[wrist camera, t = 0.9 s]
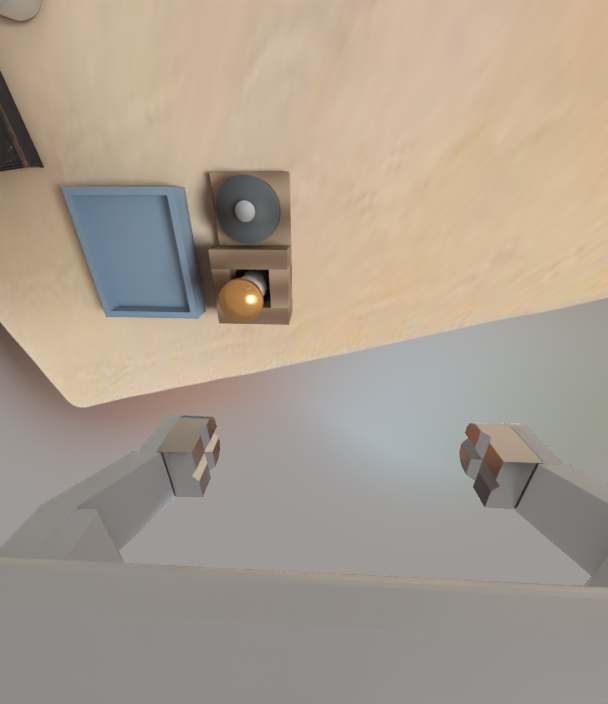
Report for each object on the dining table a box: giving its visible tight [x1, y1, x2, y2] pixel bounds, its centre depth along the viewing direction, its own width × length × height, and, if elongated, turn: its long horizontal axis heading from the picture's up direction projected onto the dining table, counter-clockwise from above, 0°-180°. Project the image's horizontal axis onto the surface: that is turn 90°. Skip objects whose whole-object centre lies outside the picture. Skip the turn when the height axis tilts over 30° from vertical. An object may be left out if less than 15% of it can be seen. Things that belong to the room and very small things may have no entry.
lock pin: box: [218, 269, 270, 323], centre depth 39 cm, size 5×5×12 cm
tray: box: [61, 186, 206, 319], centre depth 42 cm, size 18×15×4 cm
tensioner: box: [208, 172, 292, 325], centre depth 40 cm, size 19×10×6 cm, turn 0°
